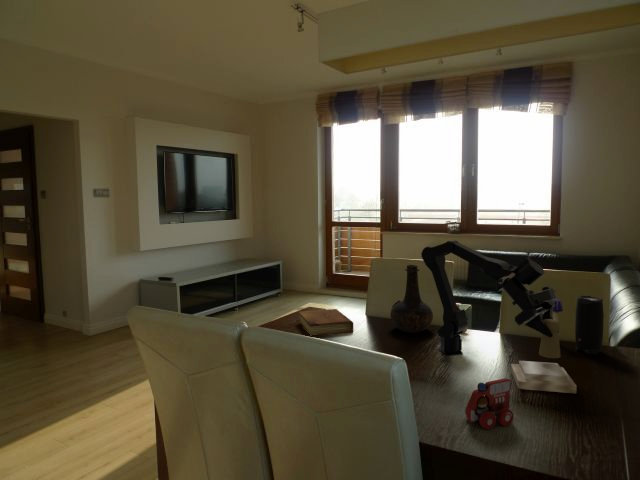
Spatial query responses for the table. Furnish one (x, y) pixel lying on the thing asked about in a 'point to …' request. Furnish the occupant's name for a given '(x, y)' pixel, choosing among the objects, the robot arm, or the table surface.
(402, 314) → the glass bottle
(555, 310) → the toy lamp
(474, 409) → the toy fire truck
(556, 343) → the brown ball-topped peg
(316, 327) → the diary
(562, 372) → the stepped square base
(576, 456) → the table surface
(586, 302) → the portable speaker
